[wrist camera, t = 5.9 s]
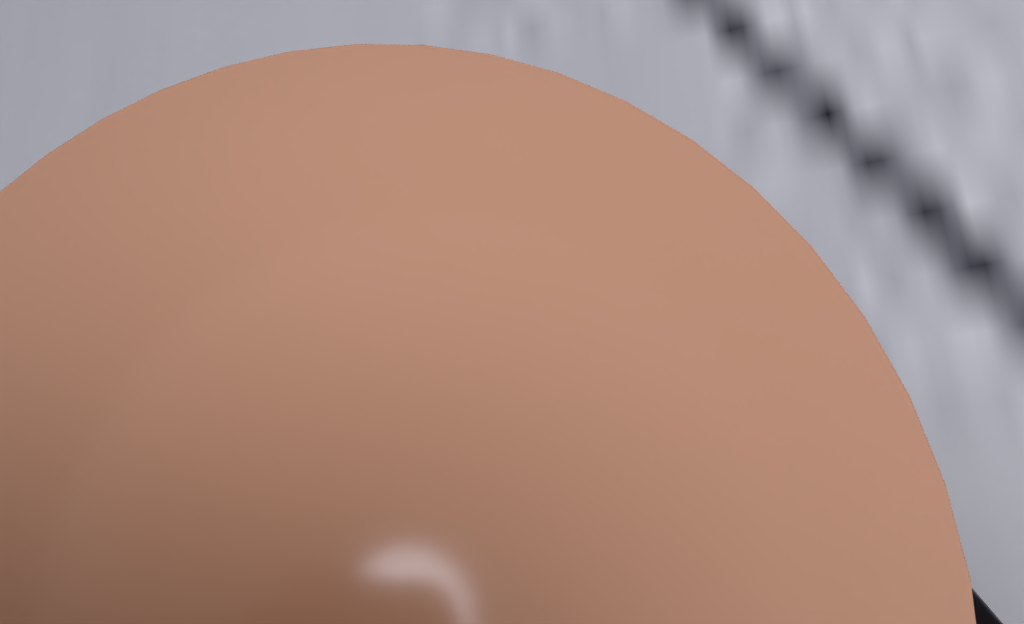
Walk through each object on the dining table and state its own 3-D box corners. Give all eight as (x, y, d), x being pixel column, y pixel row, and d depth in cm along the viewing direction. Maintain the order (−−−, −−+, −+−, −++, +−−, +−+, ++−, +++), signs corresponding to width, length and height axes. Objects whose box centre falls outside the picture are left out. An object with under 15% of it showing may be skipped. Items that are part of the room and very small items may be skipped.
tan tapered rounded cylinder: (799, 660, 14) (1321, 1244, 2) (507, 756, 15) (-218, 1618, 3) (682, 370, 16) (657, -124, 4) (421, 466, 16) (-280, 279, 5)
